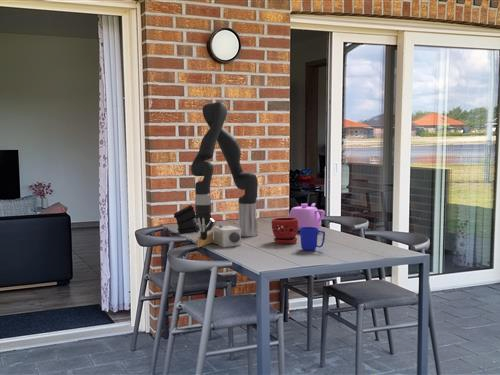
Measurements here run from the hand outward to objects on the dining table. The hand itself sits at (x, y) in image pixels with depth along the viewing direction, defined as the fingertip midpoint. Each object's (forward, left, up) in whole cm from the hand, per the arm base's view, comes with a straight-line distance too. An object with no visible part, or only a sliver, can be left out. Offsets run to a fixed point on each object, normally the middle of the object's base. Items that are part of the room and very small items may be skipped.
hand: (203, 239), depth 274 cm
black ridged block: (-6, -44, -4) cm, 44 cm away
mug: (-42, +30, -4) cm, 52 cm away
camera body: (-13, -2, -4) cm, 14 cm away
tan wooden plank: (-2, -5, -4) cm, 6 cm away
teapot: (-67, -20, -4) cm, 70 cm away
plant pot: (-40, +7, -4) cm, 41 cm away
